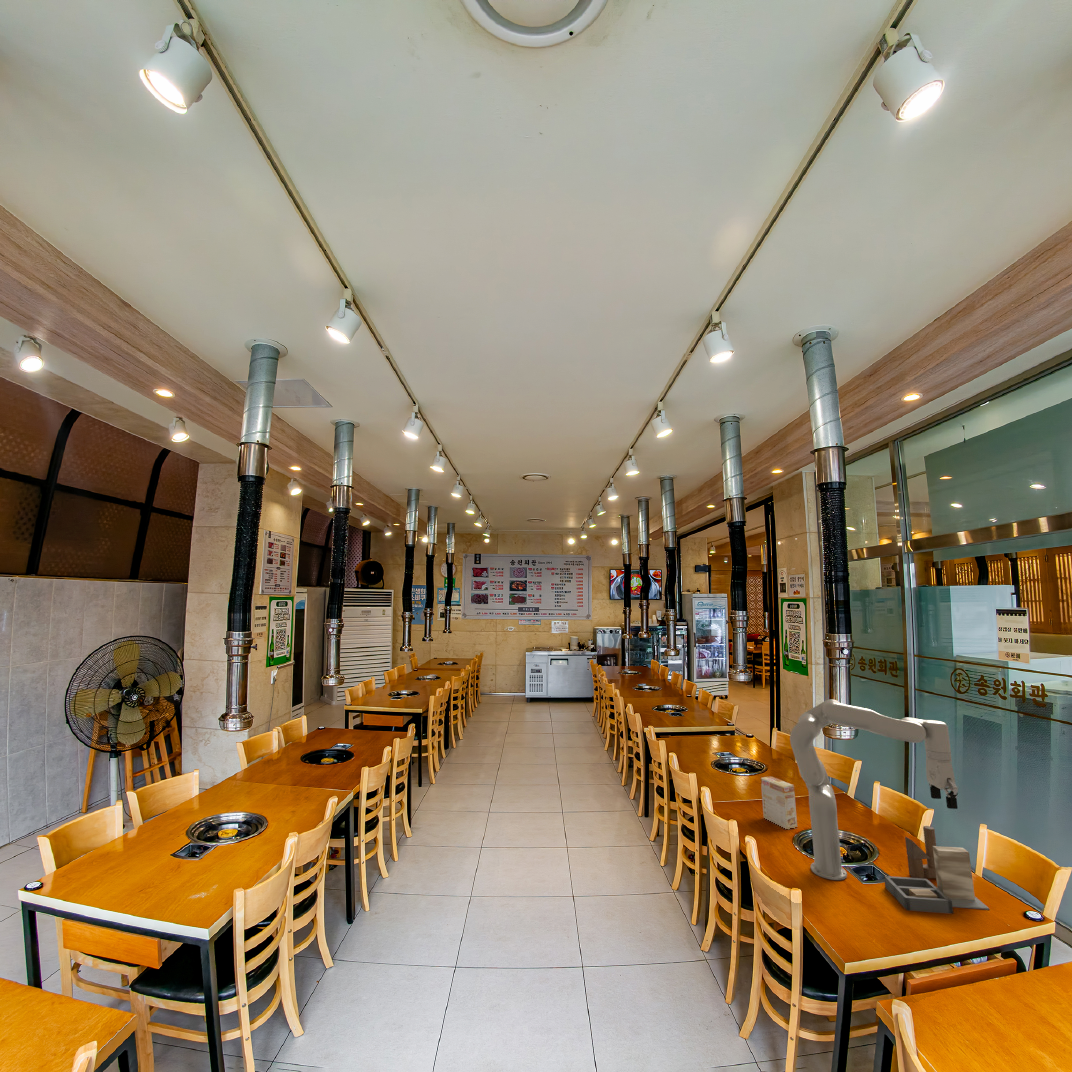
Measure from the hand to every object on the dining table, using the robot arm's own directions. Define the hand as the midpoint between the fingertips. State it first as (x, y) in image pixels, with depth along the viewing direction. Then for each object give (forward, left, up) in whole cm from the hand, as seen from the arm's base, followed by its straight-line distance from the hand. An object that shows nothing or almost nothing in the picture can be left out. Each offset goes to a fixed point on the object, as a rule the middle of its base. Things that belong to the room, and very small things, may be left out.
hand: (944, 803), depth 189 cm
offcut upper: (+7, -14, -30) cm, 34 cm away
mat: (+1, 0, -32) cm, 32 cm away
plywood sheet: (0, 0, -32) cm, 32 cm away
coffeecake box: (-59, -43, -33) cm, 80 cm away
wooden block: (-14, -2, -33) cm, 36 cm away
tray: (+4, -14, -32) cm, 35 cm away
